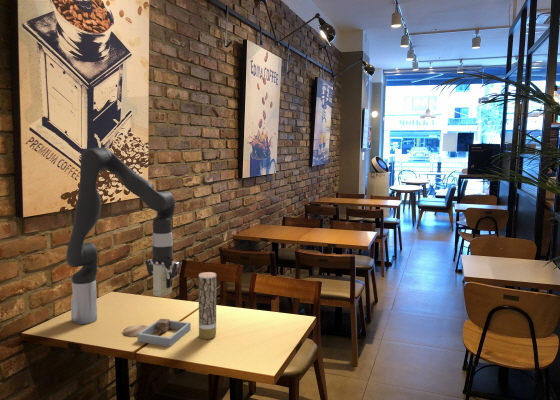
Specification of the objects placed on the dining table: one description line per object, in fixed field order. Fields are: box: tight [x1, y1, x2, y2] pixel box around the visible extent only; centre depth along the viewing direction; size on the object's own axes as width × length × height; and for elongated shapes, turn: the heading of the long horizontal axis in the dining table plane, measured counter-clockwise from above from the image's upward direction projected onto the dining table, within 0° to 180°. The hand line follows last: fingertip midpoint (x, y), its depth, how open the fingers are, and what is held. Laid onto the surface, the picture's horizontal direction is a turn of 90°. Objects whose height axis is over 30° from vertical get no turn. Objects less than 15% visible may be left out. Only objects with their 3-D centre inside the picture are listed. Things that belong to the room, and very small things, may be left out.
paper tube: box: [198, 271, 217, 340], centre depth 174 cm, size 7×7×25 cm
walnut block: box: [155, 318, 171, 333], centre depth 180 cm, size 4×4×4 cm
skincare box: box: [152, 264, 173, 298], centre depth 171 cm, size 6×4×12 cm
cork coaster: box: [122, 324, 149, 337], centre depth 178 cm, size 10×10×1 cm
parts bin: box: [137, 319, 192, 347], centre depth 175 cm, size 14×16×3 cm
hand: (162, 286), depth 172 cm, fingers closed on skincare box, 4 cm apart
